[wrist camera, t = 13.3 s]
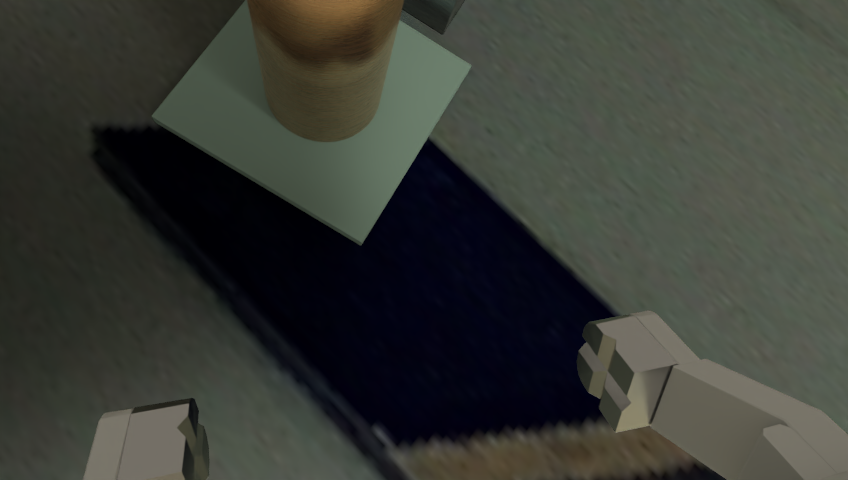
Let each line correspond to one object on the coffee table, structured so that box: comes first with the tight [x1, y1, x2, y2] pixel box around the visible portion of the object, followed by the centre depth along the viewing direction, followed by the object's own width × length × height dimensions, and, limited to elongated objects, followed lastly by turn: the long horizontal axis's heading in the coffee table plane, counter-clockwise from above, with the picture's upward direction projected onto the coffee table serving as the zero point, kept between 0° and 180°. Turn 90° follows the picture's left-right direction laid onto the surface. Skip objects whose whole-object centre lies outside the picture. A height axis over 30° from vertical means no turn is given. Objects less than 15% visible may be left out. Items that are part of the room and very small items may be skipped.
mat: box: [151, 0, 471, 245], centre depth 24 cm, size 10×10×1 cm
